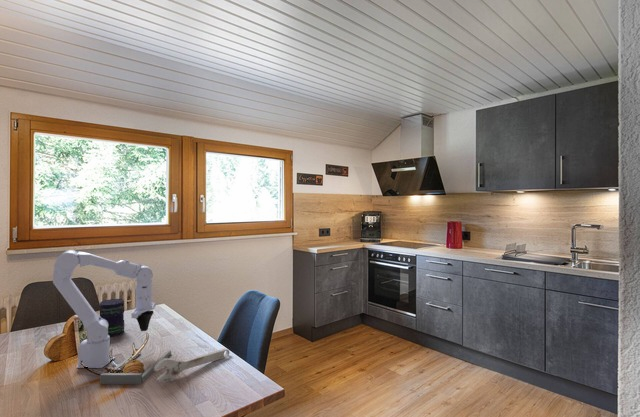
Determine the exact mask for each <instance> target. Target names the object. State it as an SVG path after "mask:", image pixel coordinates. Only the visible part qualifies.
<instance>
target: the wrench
mask: <svg viewBox="0 0 640 417" xmlns="http://www.w3.org/2000/svg"><path fill="white" fill-rule="evenodd" d="M229 356H230V350H229V349H227V348H222V349H219V350H216V351H211V352H208V353H205V354H202V355H198V356H195V357H191V358H188V359H184V360H180V359H178V360H177V359H172V358H169V357H167V358H164V359H162V360H160V361H159V362H158V363H157V364H156V365H155V367H154V371H155V372H158V371H160V370H161V369H162V368H165V371H164V373H163V374H160V375H159V376H157V378H156V380H157V382H163V383H164V382H168V381H170V382H173V381H174V380H175V379H176V377H177V376H178V375H180V373H182V372H183V371H185V370H188V369H190V368H195V367H198V366H201V365H204V364H208V363H212V362H215V361H218V360H222V359H225V358H227V357H229Z"/></svg>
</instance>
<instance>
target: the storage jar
mask: <svg viewBox="0 0 640 417" xmlns="http://www.w3.org/2000/svg"><path fill="white" fill-rule="evenodd" d="M124 312H125V299H124V298H110V299H105V300H103V301H100V302H99V316H100V317H101V318H103V319H105V320H106V321H107V322H108V324H109V326H108V335H109V336H110V339H111V338H115V337H118V336H121V335H123V334H125V319H124V314H125V313H124Z"/></svg>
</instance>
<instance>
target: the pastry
mask: <svg viewBox="0 0 640 417" xmlns="http://www.w3.org/2000/svg"><path fill="white" fill-rule="evenodd" d="M144 367H145V365H144V363H143V362H142V361H140V360H139V359H134V360H132V361H131V362H128V363H127V364H126V365H125V367H124V368H123V369H121V370H122V371H123V373H142V374H143V373H144V371H145V368H144ZM122 371H121V372H122Z"/></svg>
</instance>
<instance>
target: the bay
mask: <svg viewBox="0 0 640 417" xmlns="http://www.w3.org/2000/svg"><path fill="white" fill-rule="evenodd" d="M141 353H142V352H140V354H139V356H140V355H141ZM171 355H172V350H171V349H169V350H168V349H167V350H166V352H164V353H163V354H162V355H161V356H160V357H159V358H158V359H157V360H155V362H154V363H152V365H150V367H148V368H147V369H146V370H144V371H143V372H142V373H122V372H118V373H110V371H109V372H102V373H101V374H100V375H99V376H100V377H99V384H100V385H141V384H142V383H143V382H144V381H145V380H146V379H147V378H148V377H149V376H151V374H152V373H153V372H154V371H155V370H154V367H155V365H156V364H157V363H158V362H159V361H160V360H162V359H164V358H169V357H170V356H171ZM131 356H132V354H131V355H129V356H128V357H127V358H125V359H124V360H123V361H122V362H120V363H119V364H118V365H116V366H115V367H114V368H116V369H118V368H120V366H121V365H122V364H124V363H125V362H126V361H127V360H128V359H129V358H130V357H131Z"/></svg>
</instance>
